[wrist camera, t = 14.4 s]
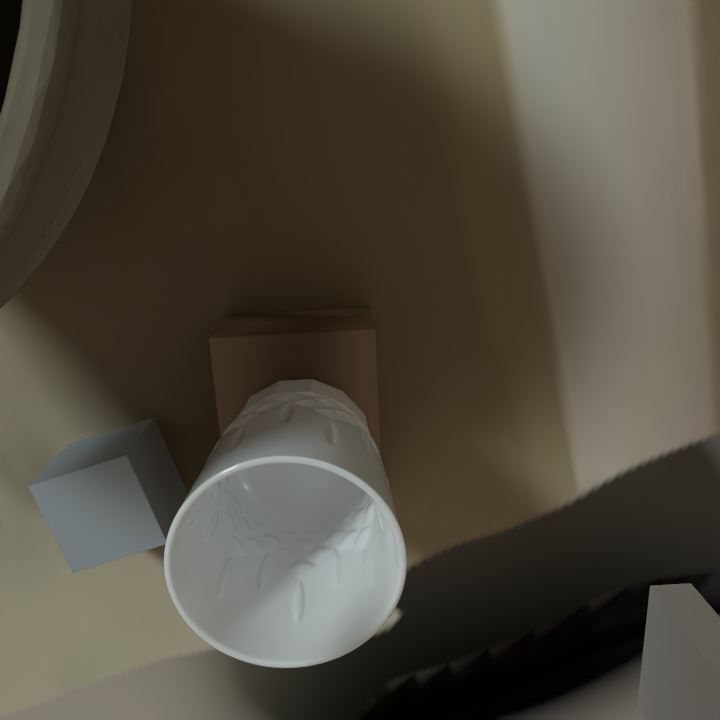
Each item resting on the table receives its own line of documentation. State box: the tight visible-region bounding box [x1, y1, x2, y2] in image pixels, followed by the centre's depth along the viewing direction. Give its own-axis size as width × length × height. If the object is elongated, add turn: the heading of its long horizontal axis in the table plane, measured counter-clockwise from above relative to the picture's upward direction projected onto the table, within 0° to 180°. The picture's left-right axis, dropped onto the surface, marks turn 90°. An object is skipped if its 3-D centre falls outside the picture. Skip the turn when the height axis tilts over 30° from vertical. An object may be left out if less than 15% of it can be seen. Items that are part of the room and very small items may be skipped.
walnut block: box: [209, 307, 382, 460], centre depth 33 cm, size 8×11×5 cm
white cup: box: [164, 379, 407, 668], centre depth 26 cm, size 8×8×10 cm
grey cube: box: [28, 418, 188, 573], centre depth 34 cm, size 5×5×5 cm
